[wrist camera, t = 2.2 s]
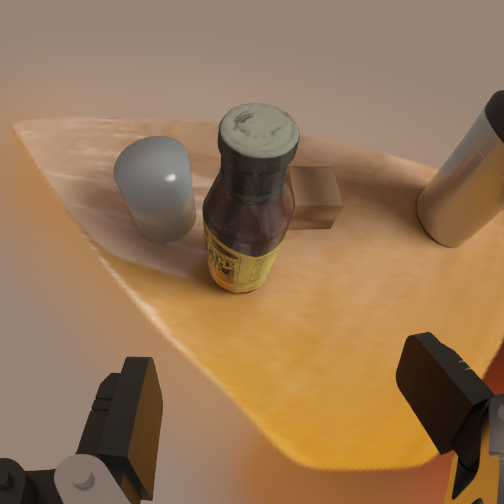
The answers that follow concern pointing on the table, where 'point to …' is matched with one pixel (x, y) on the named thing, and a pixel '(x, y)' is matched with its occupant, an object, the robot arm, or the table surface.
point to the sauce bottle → (249, 196)
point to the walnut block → (313, 197)
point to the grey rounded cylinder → (157, 187)
